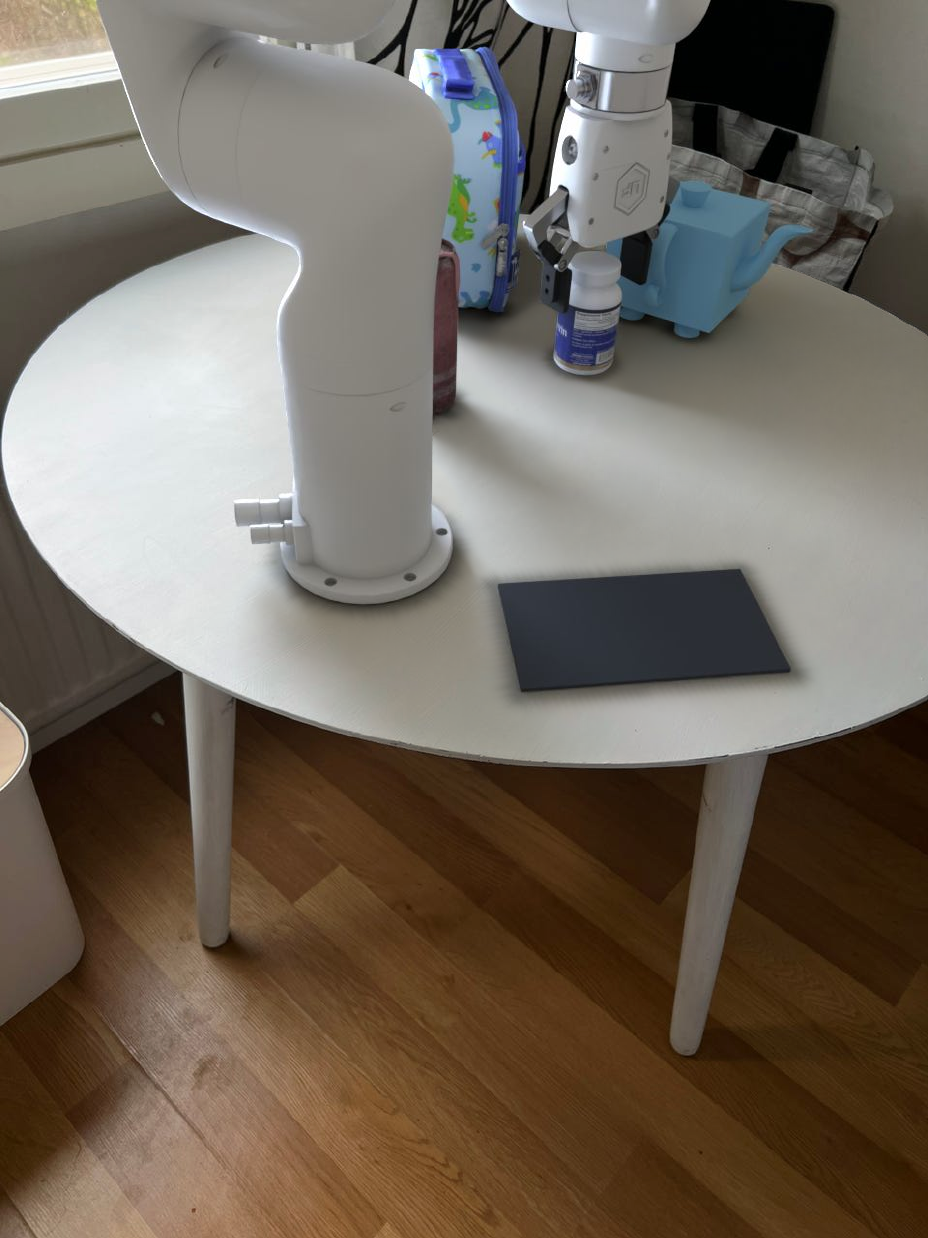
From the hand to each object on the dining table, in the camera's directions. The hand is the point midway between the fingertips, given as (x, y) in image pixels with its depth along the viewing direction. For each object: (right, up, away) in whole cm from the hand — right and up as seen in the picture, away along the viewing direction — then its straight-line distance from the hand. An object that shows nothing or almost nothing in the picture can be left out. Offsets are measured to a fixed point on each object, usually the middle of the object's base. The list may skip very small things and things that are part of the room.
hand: (593, 293), depth 84 cm
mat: (0, -31, -21) cm, 37 cm away
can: (-16, -11, -1) cm, 19 cm away
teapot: (+12, +1, +12) cm, 17 cm away
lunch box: (-13, +8, +18) cm, 23 cm away
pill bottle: (0, -5, +5) cm, 7 cm away
